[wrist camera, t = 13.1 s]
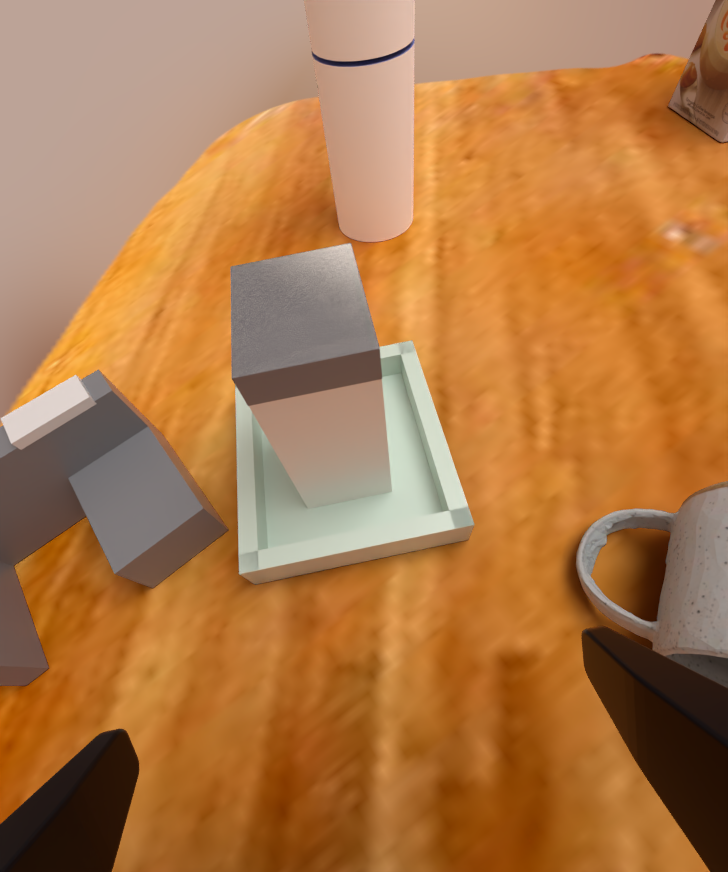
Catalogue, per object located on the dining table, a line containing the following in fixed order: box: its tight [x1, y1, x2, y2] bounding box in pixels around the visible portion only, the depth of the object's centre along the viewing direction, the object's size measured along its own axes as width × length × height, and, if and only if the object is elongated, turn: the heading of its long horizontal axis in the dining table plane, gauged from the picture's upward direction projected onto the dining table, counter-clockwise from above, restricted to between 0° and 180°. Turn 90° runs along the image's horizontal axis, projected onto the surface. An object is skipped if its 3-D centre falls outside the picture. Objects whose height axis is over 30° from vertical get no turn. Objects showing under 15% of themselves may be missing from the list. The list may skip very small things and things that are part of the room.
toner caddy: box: [231, 243, 392, 509], centre depth 20 cm, size 6×5×12 cm
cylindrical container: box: [304, 0, 415, 242], centre depth 29 cm, size 7×7×25 cm
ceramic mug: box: [576, 481, 728, 688], centre depth 17 cm, size 11×8×8 cm
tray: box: [235, 341, 474, 585], centre depth 25 cm, size 13×12×2 cm
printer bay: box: [0, 370, 228, 686], centre depth 22 cm, size 9×12×7 cm
